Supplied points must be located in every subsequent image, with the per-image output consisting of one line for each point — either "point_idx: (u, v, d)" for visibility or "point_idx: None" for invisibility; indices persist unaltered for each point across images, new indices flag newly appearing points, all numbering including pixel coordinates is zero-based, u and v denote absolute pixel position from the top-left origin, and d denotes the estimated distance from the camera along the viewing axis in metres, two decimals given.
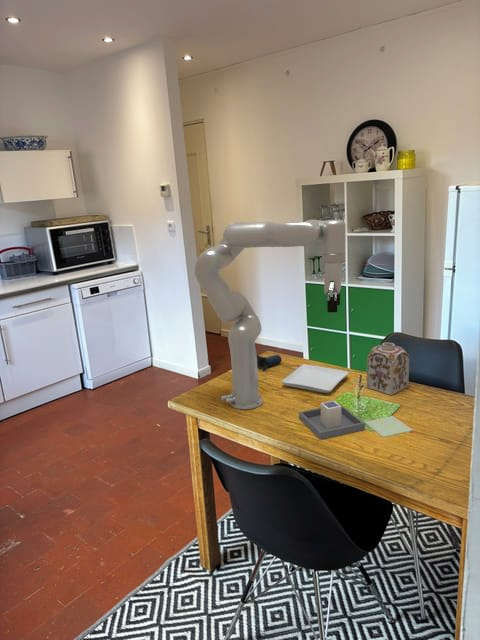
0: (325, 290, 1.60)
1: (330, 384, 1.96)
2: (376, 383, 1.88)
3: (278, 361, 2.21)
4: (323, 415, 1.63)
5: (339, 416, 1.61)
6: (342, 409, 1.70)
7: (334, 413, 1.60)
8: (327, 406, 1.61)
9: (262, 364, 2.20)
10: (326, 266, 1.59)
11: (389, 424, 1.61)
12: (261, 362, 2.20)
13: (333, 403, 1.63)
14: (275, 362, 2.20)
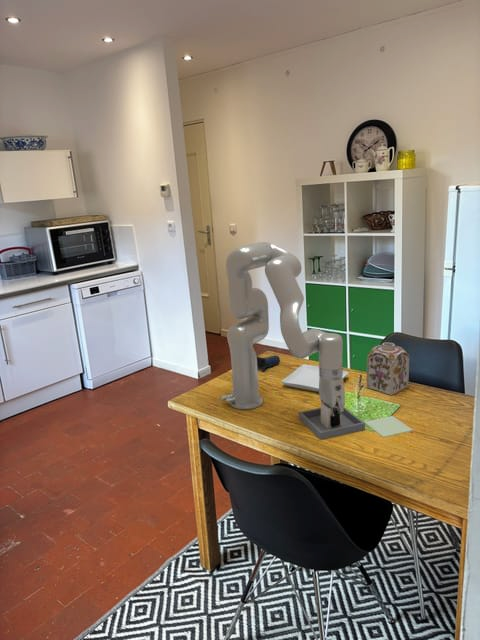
0: None
1: None
2: (376, 383, 1.88)
3: (276, 361, 2.20)
4: (323, 415, 1.63)
5: None
6: None
7: None
8: (327, 406, 1.61)
9: (261, 365, 2.20)
10: None
11: (389, 424, 1.61)
12: (259, 363, 2.20)
13: None
14: (274, 362, 2.19)
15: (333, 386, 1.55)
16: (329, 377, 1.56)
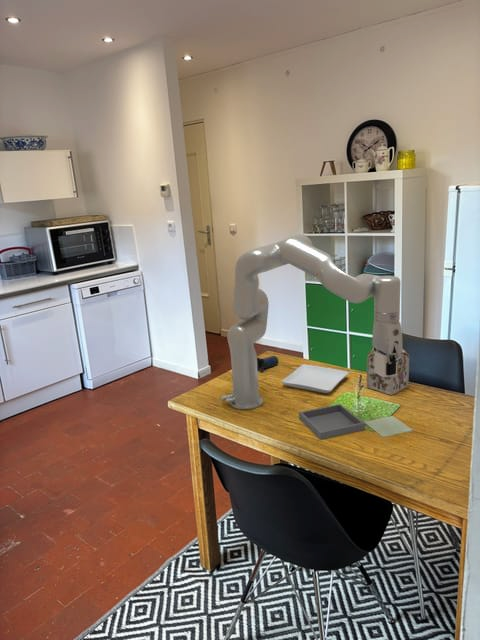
0: None
1: (330, 384, 1.96)
2: (376, 383, 1.88)
3: (275, 362, 2.20)
4: (377, 364, 1.55)
5: None
6: (342, 409, 1.70)
7: None
8: (382, 353, 1.53)
9: (259, 365, 2.19)
10: None
11: (389, 424, 1.61)
12: (258, 363, 2.19)
13: None
14: (272, 363, 2.19)
15: (391, 330, 1.47)
16: (386, 321, 1.48)
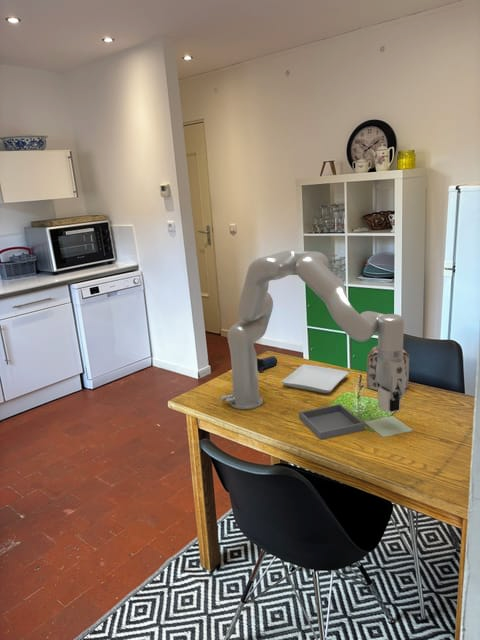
0: None
1: (330, 384, 1.96)
2: (376, 383, 1.88)
3: (274, 362, 2.19)
4: (381, 399, 1.58)
5: None
6: (342, 409, 1.70)
7: None
8: (386, 390, 1.56)
9: (258, 366, 2.18)
10: None
11: (389, 424, 1.61)
12: (257, 364, 2.18)
13: None
14: (271, 363, 2.18)
15: (394, 368, 1.50)
16: (390, 359, 1.51)
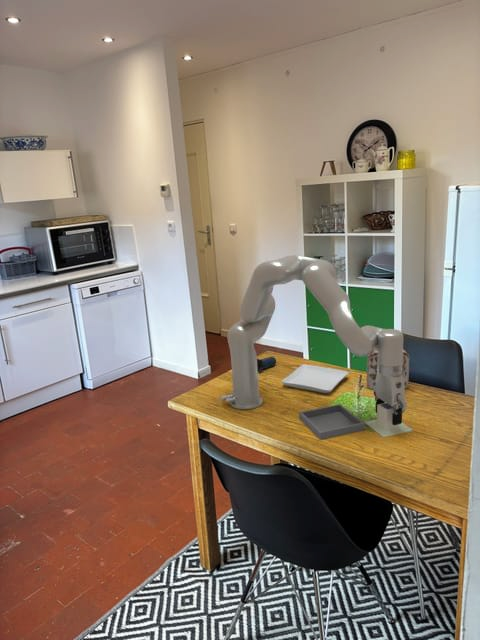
0: None
1: (330, 384, 1.96)
2: None
3: (273, 363, 2.19)
4: (380, 417, 1.59)
5: None
6: (342, 409, 1.70)
7: None
8: (385, 407, 1.57)
9: (257, 366, 2.18)
10: None
11: None
12: None
13: None
14: (270, 364, 2.18)
15: (393, 383, 1.51)
16: (389, 374, 1.52)
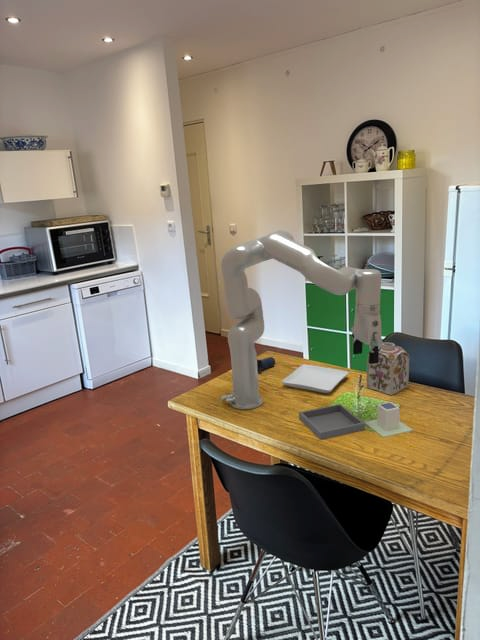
0: None
1: (330, 384, 1.96)
2: (376, 383, 1.88)
3: (272, 363, 2.19)
4: (380, 417, 1.59)
5: (397, 418, 1.58)
6: (342, 409, 1.70)
7: (392, 415, 1.57)
8: (385, 407, 1.57)
9: None
10: None
11: None
12: None
13: (390, 404, 1.59)
14: (269, 364, 2.17)
15: (370, 322, 1.53)
16: (366, 313, 1.54)
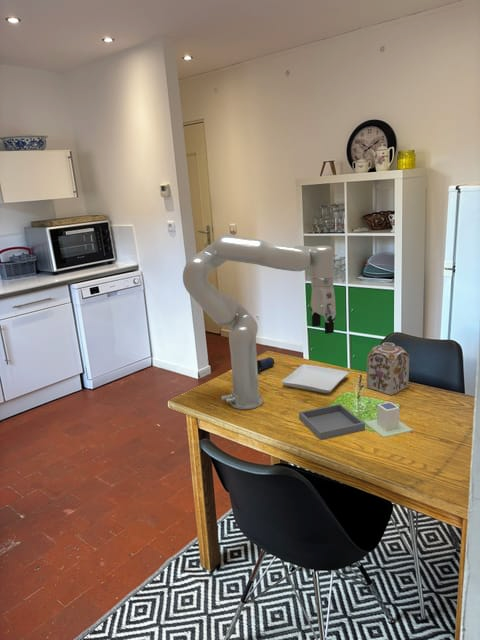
0: None
1: (330, 384, 1.96)
2: (376, 383, 1.88)
3: (271, 363, 2.18)
4: (380, 417, 1.59)
5: (397, 418, 1.58)
6: (342, 409, 1.70)
7: (392, 415, 1.57)
8: (385, 407, 1.57)
9: None
10: None
11: None
12: None
13: (390, 404, 1.59)
14: (268, 365, 2.17)
15: (324, 294, 1.66)
16: (320, 286, 1.66)
